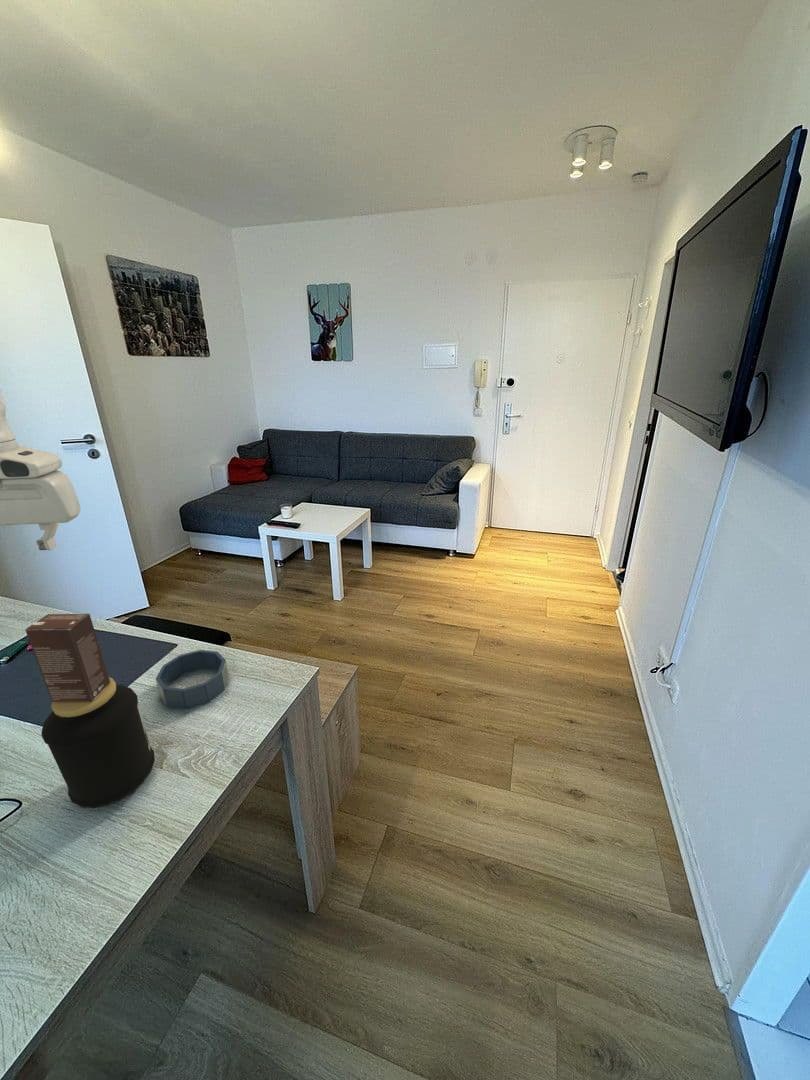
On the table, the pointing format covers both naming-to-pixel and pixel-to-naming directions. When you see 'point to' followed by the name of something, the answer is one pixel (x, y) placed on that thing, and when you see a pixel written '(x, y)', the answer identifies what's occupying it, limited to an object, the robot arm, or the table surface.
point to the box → (69, 657)
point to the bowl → (197, 692)
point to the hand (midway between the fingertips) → (14, 550)
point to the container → (100, 746)
